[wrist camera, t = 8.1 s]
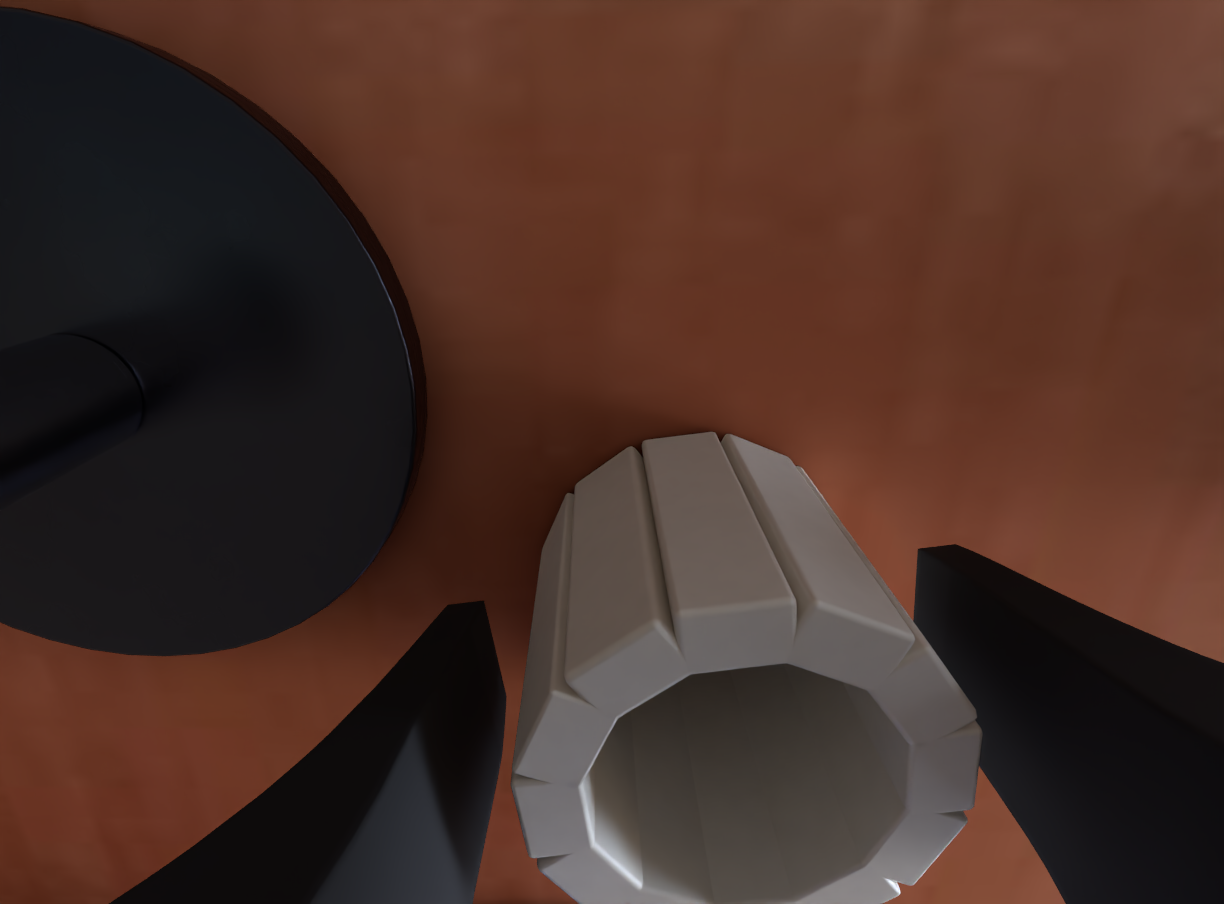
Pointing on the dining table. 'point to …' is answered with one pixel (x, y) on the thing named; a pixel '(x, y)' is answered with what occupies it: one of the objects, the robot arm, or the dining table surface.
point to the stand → (184, 357)
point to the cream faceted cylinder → (729, 695)
